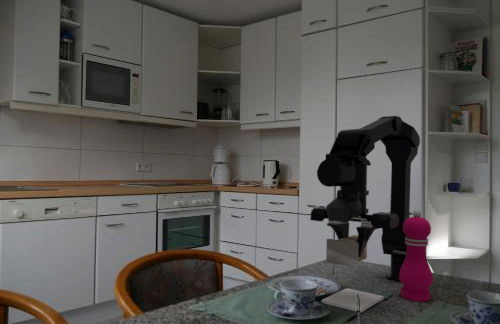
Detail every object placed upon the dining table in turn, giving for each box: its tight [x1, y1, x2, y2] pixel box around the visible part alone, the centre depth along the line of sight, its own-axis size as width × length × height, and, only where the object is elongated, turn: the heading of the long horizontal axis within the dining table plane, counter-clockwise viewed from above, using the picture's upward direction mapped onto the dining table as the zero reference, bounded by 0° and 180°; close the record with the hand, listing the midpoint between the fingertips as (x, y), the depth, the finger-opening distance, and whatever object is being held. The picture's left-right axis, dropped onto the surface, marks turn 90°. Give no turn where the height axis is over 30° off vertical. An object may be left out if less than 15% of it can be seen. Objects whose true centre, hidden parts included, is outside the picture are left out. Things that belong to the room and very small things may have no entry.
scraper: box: [325, 234, 368, 269], centre depth 91 cm, size 10×7×5 cm
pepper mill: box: [399, 209, 434, 302], centre depth 95 cm, size 7×7×20 cm
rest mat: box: [321, 287, 384, 313], centre depth 91 cm, size 12×9×1 cm
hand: (352, 256), depth 91 cm, fingers closed on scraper, 3 cm apart
